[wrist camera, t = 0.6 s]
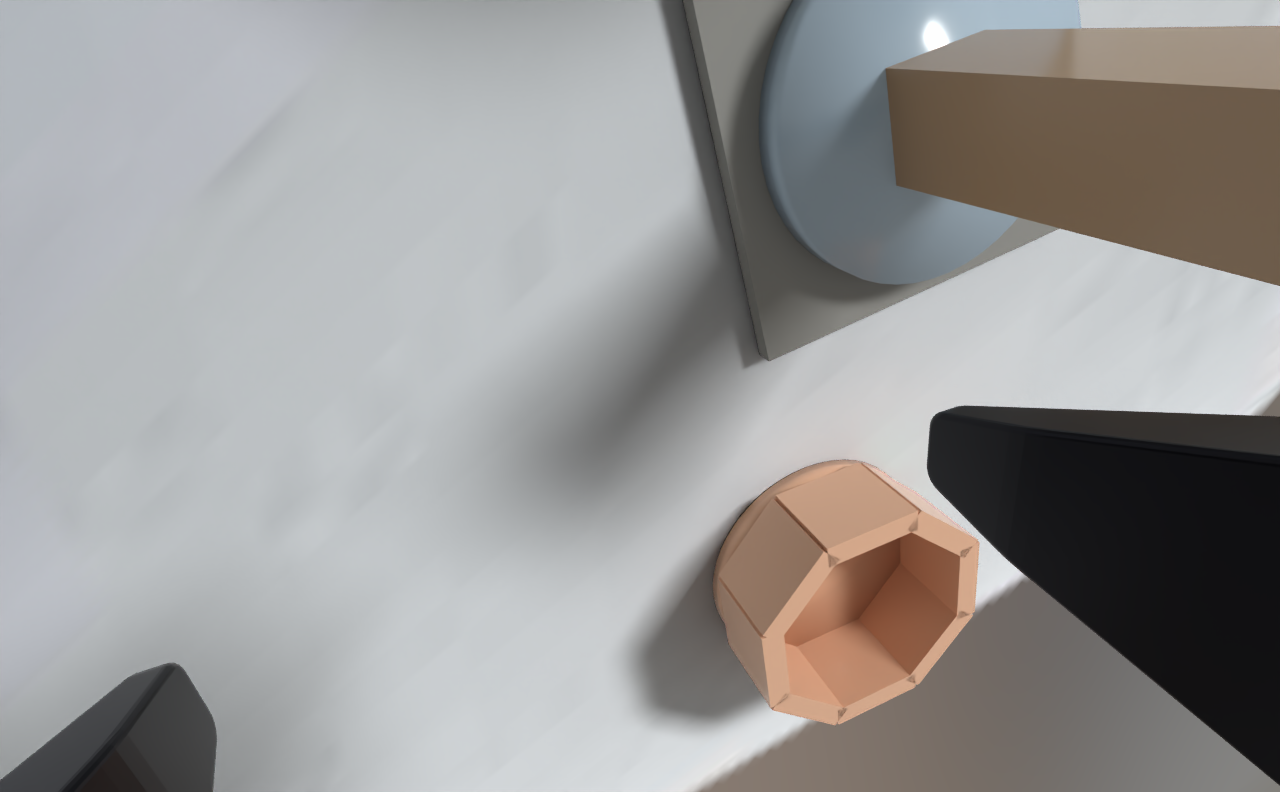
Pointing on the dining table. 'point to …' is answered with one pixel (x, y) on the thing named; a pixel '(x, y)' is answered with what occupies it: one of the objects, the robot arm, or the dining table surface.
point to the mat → (768, 253)
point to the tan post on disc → (1018, 134)
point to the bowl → (842, 589)
